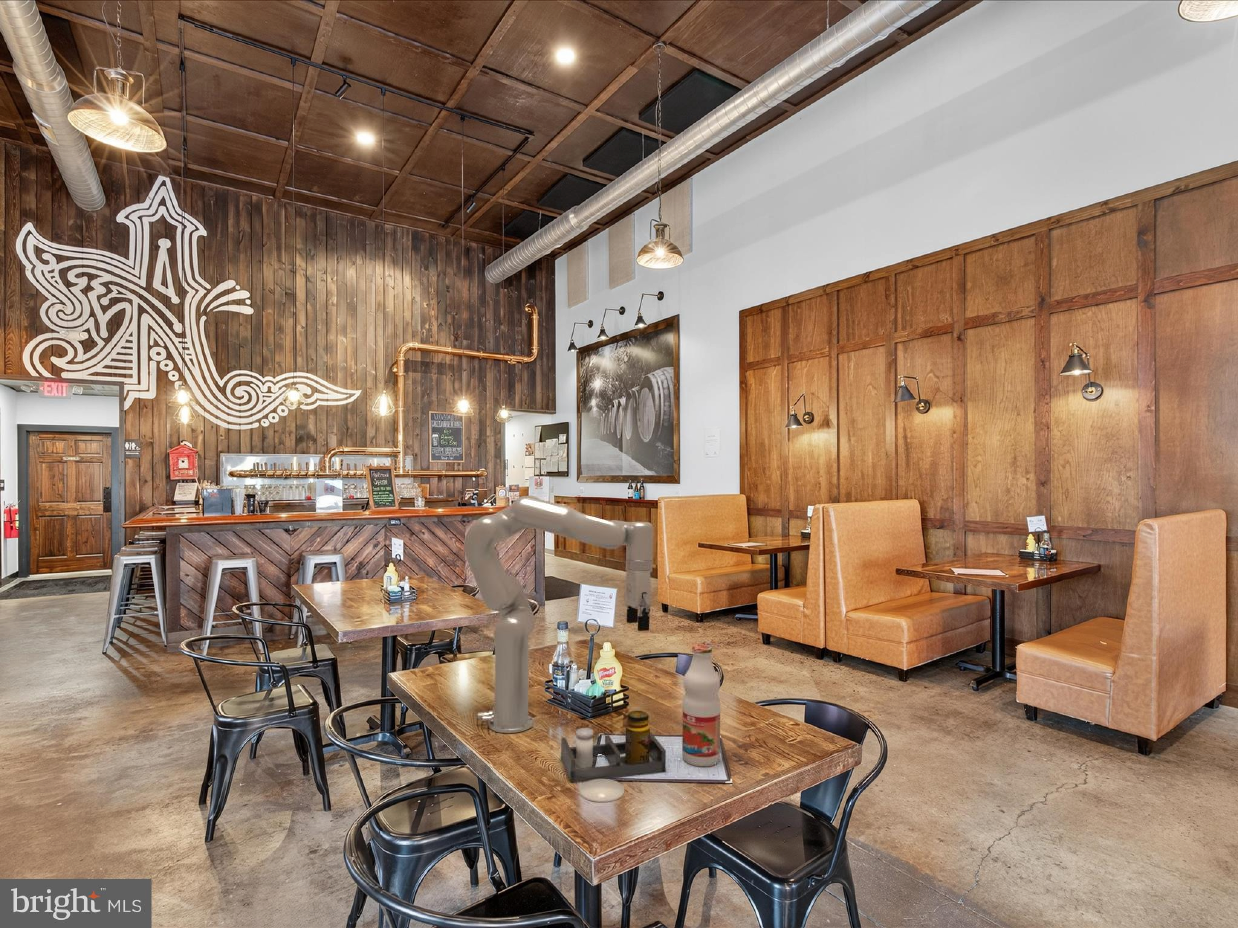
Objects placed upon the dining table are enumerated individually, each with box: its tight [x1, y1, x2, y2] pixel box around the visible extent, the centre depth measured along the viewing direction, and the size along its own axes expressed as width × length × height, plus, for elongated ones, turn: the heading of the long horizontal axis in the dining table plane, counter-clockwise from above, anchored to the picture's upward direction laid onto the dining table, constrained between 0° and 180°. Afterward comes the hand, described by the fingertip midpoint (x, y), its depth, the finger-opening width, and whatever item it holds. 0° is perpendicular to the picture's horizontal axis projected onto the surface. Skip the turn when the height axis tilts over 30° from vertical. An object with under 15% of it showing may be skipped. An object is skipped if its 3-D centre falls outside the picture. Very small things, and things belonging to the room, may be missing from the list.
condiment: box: [620, 710, 651, 764], centre depth 155 cm, size 7×8×12 cm
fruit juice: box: [681, 644, 721, 767], centre depth 157 cm, size 9×9×28 cm
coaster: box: [579, 778, 625, 803], centre depth 140 cm, size 10×10×1 cm
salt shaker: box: [575, 727, 594, 769], centre depth 153 cm, size 4×4×8 cm
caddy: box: [560, 731, 667, 784], centre depth 153 cm, size 23×13×5 cm, turn 105°
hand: (637, 626), depth 177 cm, fingers open, 9 cm apart
